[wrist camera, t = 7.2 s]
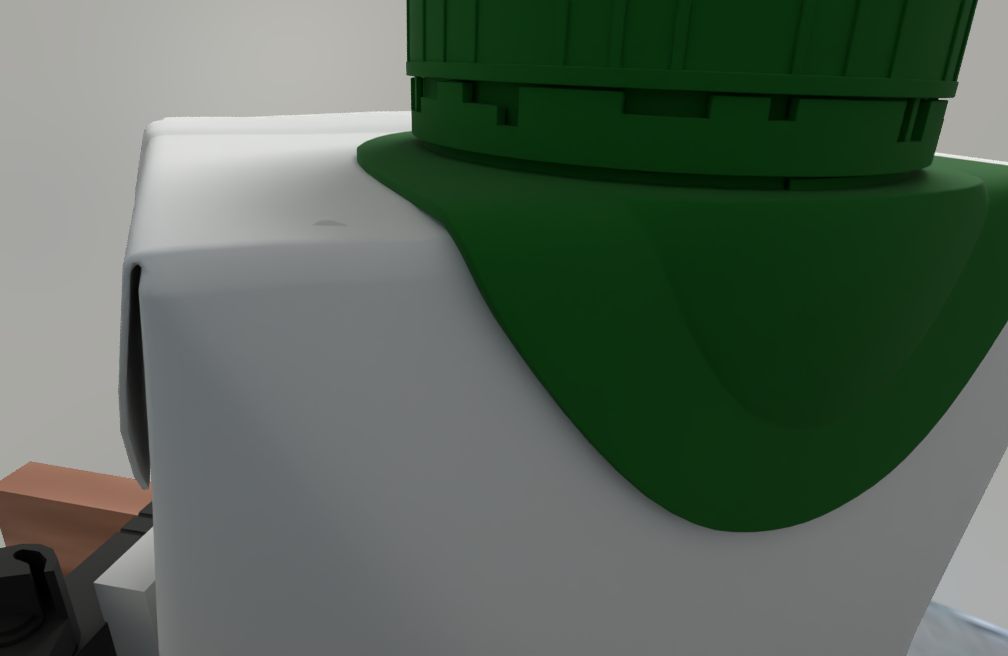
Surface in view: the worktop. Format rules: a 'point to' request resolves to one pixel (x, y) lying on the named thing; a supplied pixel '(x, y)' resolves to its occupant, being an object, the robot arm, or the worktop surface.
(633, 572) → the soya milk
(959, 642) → the worktop surface
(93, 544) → the dock
